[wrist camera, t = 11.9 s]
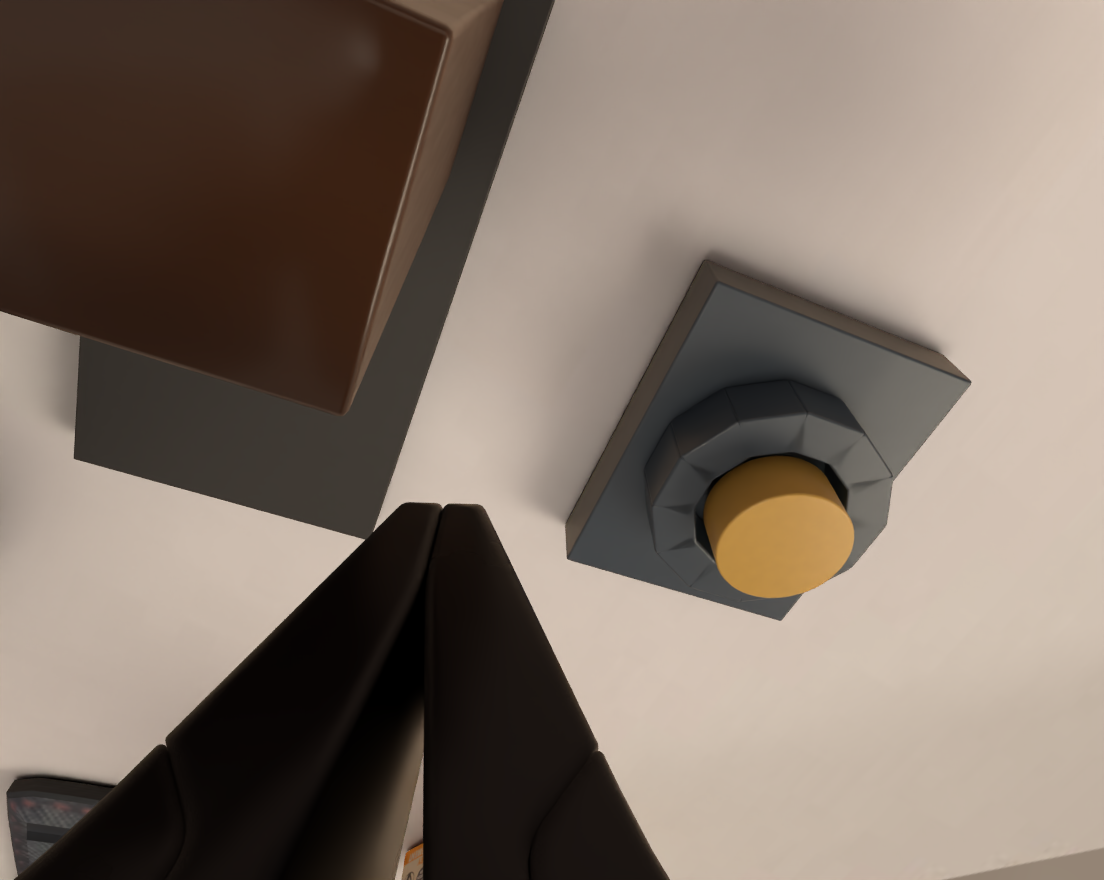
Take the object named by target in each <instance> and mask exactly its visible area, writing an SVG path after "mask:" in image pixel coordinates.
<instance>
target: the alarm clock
mask: <svg viewBox="0 0 1104 880" xmlns="http://www.w3.org/2000/svg"><path fill="white" fill-rule="evenodd" d="M503 2H504V0H0V311H2V312H5V313H8V314H11V315H14V316H18V317H21V318H24V319H27V320H30V321H34V322H37V323H40V324H43V325H46V326H50V327H53V328H56V329H59V330H63V331H66V332H69V333H72V334H75V335H79V336H82V337H85V338H88V339H91V340H95V341H98V342H101V343H104V344H107V345H111V346H114V347H117V348H120V349H124V350H127V351H130V352H133V353H136V354H140V355H143V356H146V357H149V358H152V359H156V360H159V361H162V362H165V363H169V364H172V365H175V366H178V367H181V368H185V369H188V370H191V371H194V372H197V373H201V374H204V375H207V376H210V377H213V378H217V379H220V380H223V381H226V382H230V383H233V384H236V385H239V386H242V387H246V388H249V389H252V390H255V391H258V392H262V393H265V394H268V395H271V396H274V397H278V398H281V399H284V400H287V401H291V402H294V403H297V404H300V405H303V406H307V407H310V408H313V409H316V410H319V411H323V412H326V413H329V414H332V415H336V416H344V415H345V414H346V413H347V412H348V411H349V409H350V406H351V404H352V402H353V399H354V397H355V395H356V392H357V390H358V388H359V385H360V383H361V381H362V378H363V376H364V374H365V372H366V369H367V367H368V365H369V362H370V360H371V358H372V355H373V353H374V351H375V348H376V346H377V344H378V341H379V339H380V337H381V334H382V332H383V330H384V327H385V325H386V323H387V320H388V318H389V316H390V313H391V311H392V309H393V306H394V304H395V302H396V299H397V297H398V295H399V292H400V290H401V288H402V285H403V283H404V281H405V278H406V276H407V274H408V271H409V269H410V267H411V264H412V262H413V260H414V257H415V255H416V253H417V250H418V248H419V246H420V243H421V241H422V239H423V236H424V234H425V232H426V229H427V227H428V225H429V222H430V220H431V218H432V215H433V213H434V211H435V208H436V206H437V204H438V201H439V199H440V197H441V194H442V192H443V190H444V188H445V185H446V183H447V181H448V178H449V176H450V173H451V169H452V166H453V163H454V160H455V157H456V153H457V150H458V147H459V144H460V140H461V137H462V134H463V131H464V127H465V124H466V121H467V118H468V115H469V111H470V108H471V105H472V102H473V98H474V95H475V92H476V89H477V86H478V82H479V79H480V76H481V73H482V69H483V66H484V63H485V60H486V56H487V53H488V50H489V47H490V44H491V40H492V37H493V34H494V31H495V27H496V24H497V21H498V18H499V15H500V11H501V8H502V5H503Z"/></svg>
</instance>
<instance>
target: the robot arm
mask: <svg viewBox="0 0 1104 880" xmlns="http://www.w3.org/2000/svg"><path fill="white" fill-rule="evenodd" d="M165 741H166V746H167V747H166V746H165V745H161V744H160V745H158V746H156V747H155V748H154V749H153V750H152V751H151V752H150V753H149V754H148V755H147V756H146V757H145V758H144V759H143V760H142V761H141V762H140V763H139V764H138V765H137V766H136V767H135V768H134V769H133V770H132V771H131V772H130V773H129V774H128V775H127V776H126V777H125V778H124V779H123V780H122V781H121V782H120V783H119V784H117V785H116V786H115V787H114V788H113V789H112V790H111V791H110V792H109V793H108V794H107V795H106V796H105V797H104V798H103V799H102V800H101V801H100V802H98V803H97V804H96V805H95V806H94V807H93V808H92V809H91V810H90V811H89V812H88V813H87V814H86V815H85V816H84V817H83V818H82V819H80V820H79V821H78V822H77V823H76V824H75V825H74V826H73V827H72V828H71V829H70V830H69V831H68V832H67V833H66V834H65V835H64V836H63V837H61V838H60V839H59V840H58V841H57V842H56V843H55V844H54V845H53V846H52V847H50V848H49V849H48V850H47V851H46V852H45V853H44V854H42V855H41V856H40V857H39V858H38V859H37V860H36V861H34V862H33V863H32V864H31V865H30V866H29V867H28V868H26V869H25V870H24V871H23V872H22V873H21V874H20V875H18V876H17V877H16V878H15V879H14V880H395V876H396V872H397V867H398V863H399V858H400V854H401V850H402V845H403V841H404V836H405V832H406V827H407V823H408V819H409V814H410V810H411V805H412V801H413V796H414V792H415V787H416V783H417V779H418V774H419V770H420V765H421V761H422V756H423V752H424V773H423V880H670V879H669V877H668V876H667V874H666V872H665V871H664V869H663V867H662V866H661V864H660V862H659V861H658V859H657V857H656V856H655V854H654V852H653V851H652V849H651V847H650V845H649V843H648V841H647V839H646V838H645V836H644V834H643V832H642V830H641V828H640V826H639V824H638V822H637V820H636V818H635V817H634V815H633V813H632V811H631V809H630V807H629V805H628V803H627V801H626V799H625V797H624V796H623V794H622V792H621V790H620V788H619V786H618V784H617V781H616V779H615V777H614V775H613V773H612V771H611V769H610V767H609V765H608V763H607V761H606V759H605V757H604V755H603V753H602V752H600V751H598V743H597V741H596V739H595V737H594V735H593V733H592V731H591V729H590V726H589V724H588V722H587V720H586V718H585V716H584V714H583V712H582V710H581V708H580V706H579V704H578V702H577V699H576V697H575V695H574V693H573V691H572V689H571V687H570V685H569V683H568V681H567V679H566V677H565V674H564V672H563V670H562V668H561V666H560V664H559V662H558V660H557V658H556V656H555V654H554V652H553V650H552V647H551V645H550V643H549V641H548V639H547V637H546V635H545V633H544V631H543V629H542V627H541V625H540V623H539V620H538V618H537V616H536V614H535V612H534V610H533V608H532V606H531V604H530V602H529V600H528V598H527V596H526V593H525V591H524V589H523V587H522V585H521V583H520V581H519V579H518V577H517V575H516V573H515V571H514V569H513V566H512V564H511V562H510V560H509V558H508V556H507V554H506V552H505V550H504V548H503V546H502V544H501V541H500V539H499V537H498V535H497V533H496V531H495V529H494V527H493V525H492V523H491V521H490V519H489V517H488V514H487V512H486V510H485V509H484V508H483V506H481V505H478V504H447V505H446V506H445V507H444V508H442V507H441V505H439V504H438V503H415V502H408V503H404V504H402V505H400V506H399V507H398V508H397V509H396V510H395V511H394V512H393V513H392V514H391V515H390V516H389V517H388V518H387V519H386V520H385V521H384V522H383V523H382V524H381V525H380V526H379V527H378V528H377V529H376V530H375V531H374V532H373V533H372V534H371V535H370V536H369V537H368V538H367V539H366V540H365V541H364V542H363V543H362V544H361V545H360V546H359V547H358V548H357V549H356V550H355V551H354V552H353V553H352V554H351V555H350V556H349V557H348V558H347V559H346V560H345V561H344V562H343V563H342V564H341V565H340V566H339V567H338V568H337V569H335V570H334V571H333V572H332V573H331V574H330V575H329V576H328V577H327V578H326V579H325V580H324V581H323V582H322V583H321V584H320V585H319V586H318V587H317V588H316V589H315V590H314V591H313V592H312V593H311V594H310V595H309V596H308V597H307V598H306V599H305V600H304V601H303V602H302V603H301V604H300V605H299V606H298V607H297V608H296V609H295V610H294V611H293V612H292V613H291V614H290V615H289V616H288V617H287V618H286V619H285V620H284V621H283V622H282V623H281V624H280V625H279V626H278V627H277V628H276V629H275V630H274V631H273V632H272V633H271V634H270V635H269V636H268V637H267V638H266V639H265V640H264V641H263V642H262V643H261V644H260V645H259V646H258V647H257V648H256V649H255V650H254V651H253V652H252V653H251V654H250V655H249V656H248V657H247V658H246V659H245V660H243V661H242V662H241V663H240V664H239V665H238V666H237V667H236V668H235V669H234V670H233V671H232V672H231V673H230V674H229V675H228V676H227V677H226V678H225V679H224V680H223V681H222V682H221V683H220V684H219V685H218V686H217V687H216V688H215V689H214V690H213V691H212V692H211V693H210V694H209V695H208V696H207V697H206V698H205V699H204V700H203V701H202V702H201V703H200V704H199V705H198V706H197V707H196V708H195V709H194V710H193V711H192V712H191V713H190V714H189V715H188V716H187V717H186V718H185V719H184V720H183V721H182V722H181V723H180V724H179V725H178V726H177V727H176V728H175V729H174V730H173V731H172V732H171V733H170V734H169V735H168V736H167V737H166V740H165Z"/></svg>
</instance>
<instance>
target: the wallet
mask: <svg viewBox="0 0 1104 880" xmlns="http://www.w3.org/2000/svg"><path fill="white" fill-rule="evenodd" d="M112 789H113V788H108V787H102V786H96V785H90V784H83V783H76V782H69V781H62V780H55V779H48V778H32V779H19V780H14V782H13V783H12V785H11V786H10V788H9V789H8V791H7V792H6V793H7V809H8V820H9V827H10V834H11V840H12V846H13V852H14V857H15V863H16V869H17V874H18V875H20V874H21V873H22V872H23V871H24V870H25V869H26V868H28V867H29V866H30V865H31V864H32V863H33V862H34V861H36V860H37V859H38V858H39V857H40V856H41V855H42V854H44V853H45V852H46V851H47V850H48V849H49V848H50V847H52V846H53V845H54V844H55V843H56V842H57V841H58V840H59V839H60V838H61V837H63V836H64V835H65V834H66V833H67V832H68V831H69V830H70V829H71V828H72V827H73V826H74V825H75V824H76V823H77V822H78V821H79V820H80V819H82V818H83V817H84V816H85V815H86V814H87V813H88V812H89V811H90V810H91V809H92V808H93V807H94V806H95V805H96V804H97V803H98V802H100V801H101V800H102V799H103V798H104V797H105V796H106V795H107V794H108V793H109V792H110V791H111V790H112Z"/></svg>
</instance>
